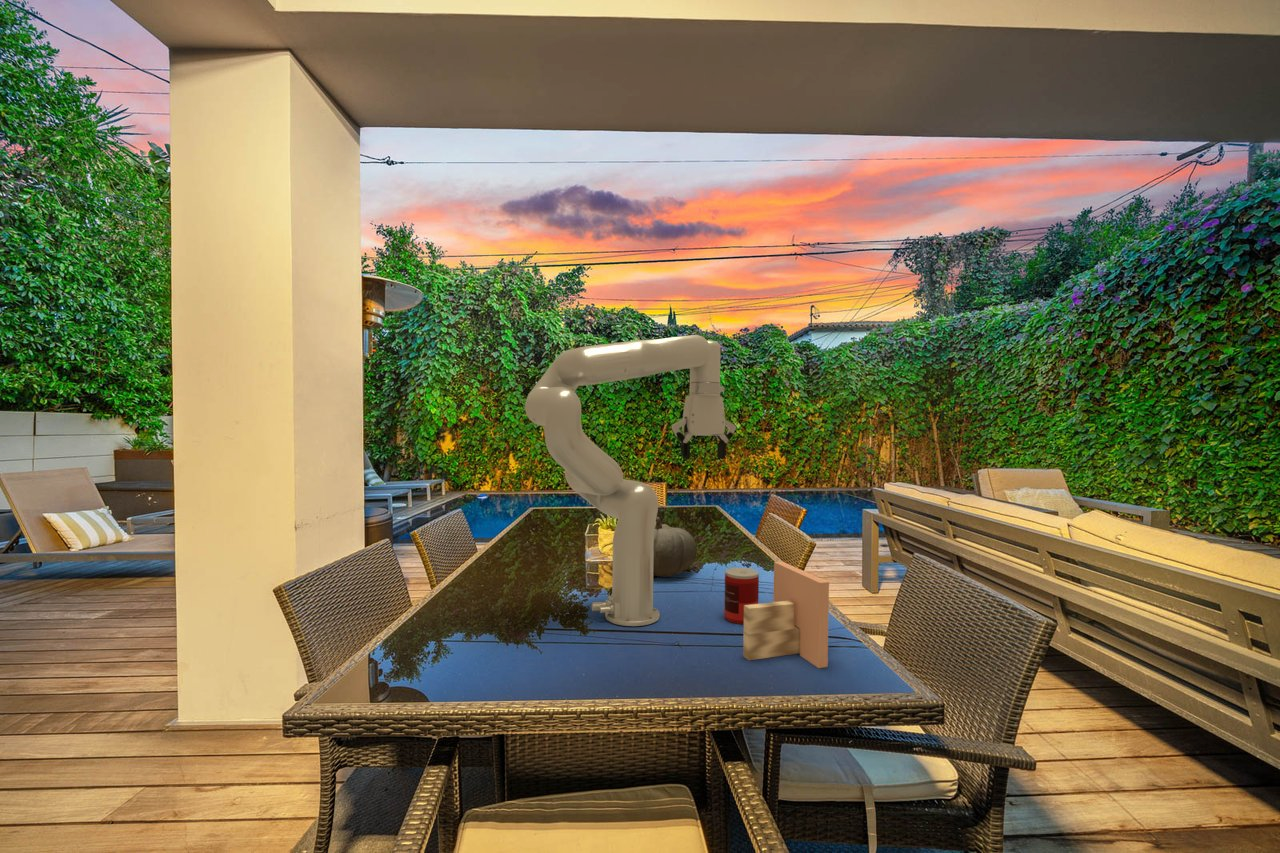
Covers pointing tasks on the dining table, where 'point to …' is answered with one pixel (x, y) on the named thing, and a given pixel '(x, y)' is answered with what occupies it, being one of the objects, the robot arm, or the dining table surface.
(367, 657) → the dining table surface
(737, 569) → the canned food
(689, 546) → the gourd
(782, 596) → the terracotta plate
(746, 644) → the oak board
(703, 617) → the dining table surface
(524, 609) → the dining table surface
